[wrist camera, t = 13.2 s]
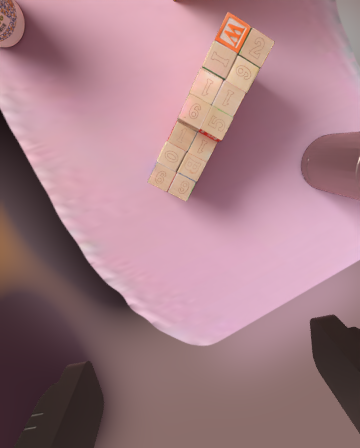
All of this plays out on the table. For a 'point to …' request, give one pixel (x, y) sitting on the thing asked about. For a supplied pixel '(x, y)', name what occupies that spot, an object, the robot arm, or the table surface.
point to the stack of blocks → (210, 105)
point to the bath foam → (10, 23)
